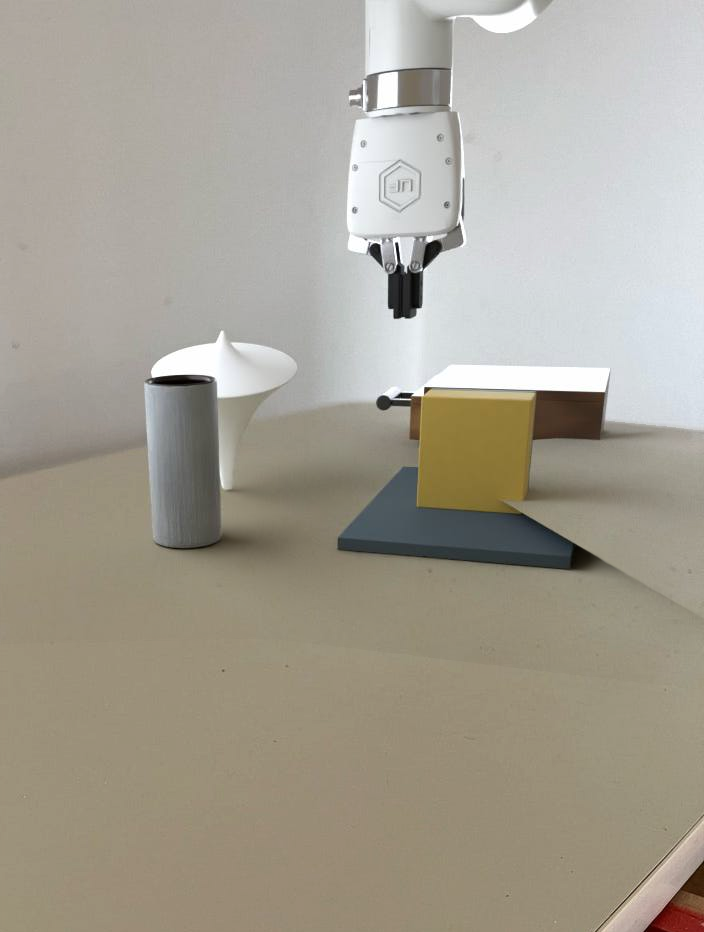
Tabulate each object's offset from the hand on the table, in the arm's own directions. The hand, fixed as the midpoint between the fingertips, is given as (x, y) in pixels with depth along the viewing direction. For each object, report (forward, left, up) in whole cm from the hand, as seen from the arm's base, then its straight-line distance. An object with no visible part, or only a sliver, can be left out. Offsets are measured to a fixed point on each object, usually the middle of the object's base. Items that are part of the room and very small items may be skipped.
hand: (405, 317), depth 97 cm
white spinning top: (+21, +20, -10) cm, 31 cm away
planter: (+26, +32, -10) cm, 42 cm away
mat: (+6, +32, -10) cm, 34 cm away
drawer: (-4, +8, -9) cm, 13 cm away
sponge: (+6, +32, -9) cm, 34 cm away
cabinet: (-7, +10, -10) cm, 16 cm away
